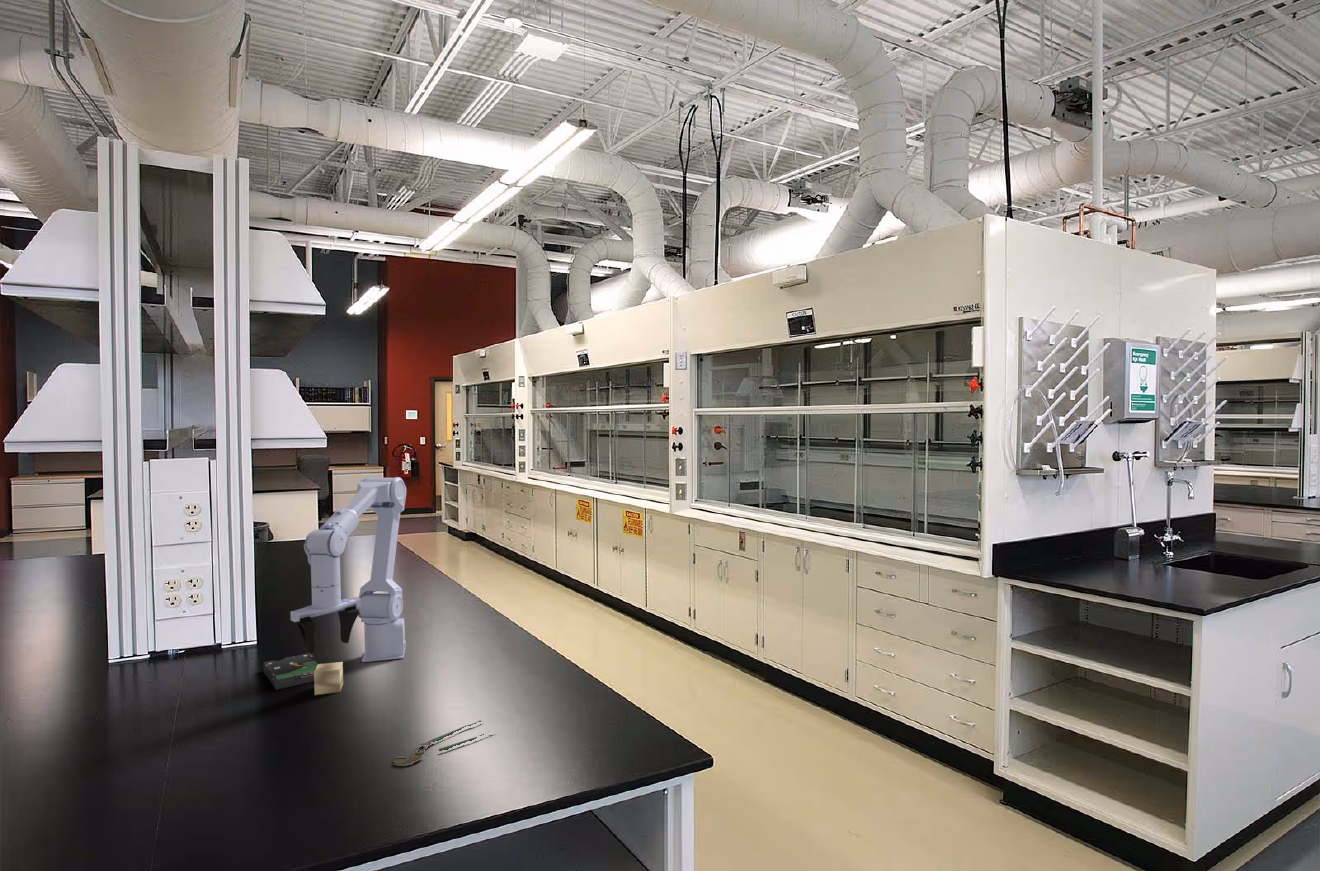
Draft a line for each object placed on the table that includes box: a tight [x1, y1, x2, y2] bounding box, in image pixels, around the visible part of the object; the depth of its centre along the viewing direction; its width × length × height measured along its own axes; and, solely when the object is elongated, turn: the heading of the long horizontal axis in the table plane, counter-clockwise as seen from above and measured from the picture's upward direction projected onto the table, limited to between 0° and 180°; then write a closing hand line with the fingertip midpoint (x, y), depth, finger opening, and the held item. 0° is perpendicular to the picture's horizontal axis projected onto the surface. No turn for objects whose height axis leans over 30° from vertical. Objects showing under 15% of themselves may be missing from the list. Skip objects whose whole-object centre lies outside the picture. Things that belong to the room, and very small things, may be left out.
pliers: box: [392, 719, 484, 764], centre depth 130 cm, size 20×6×1 cm, turn 136°
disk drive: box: [262, 652, 321, 691], centre depth 165 cm, size 10×3×15 cm
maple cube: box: [313, 661, 344, 696], centre depth 156 cm, size 5×5×5 cm
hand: (327, 646), depth 156 cm, fingers open, 7 cm apart
